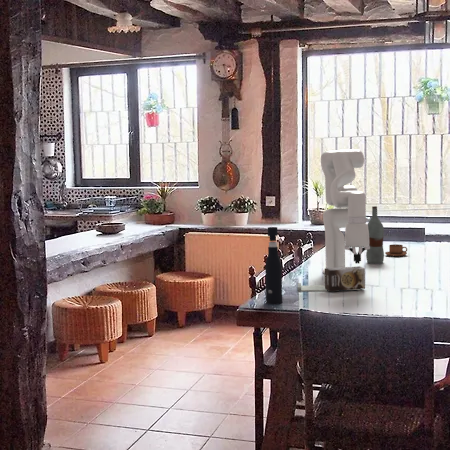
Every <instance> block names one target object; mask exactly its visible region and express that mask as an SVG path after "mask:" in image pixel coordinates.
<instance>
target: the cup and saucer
mask: <svg viewBox="0 0 450 450" xmlns="http://www.w3.org/2000/svg"><path fill="white" fill-rule="evenodd" d="M388 247H389V248H388V249H389V251H385V252H384V255H385V256H389V257H394V256H395V257H398V258H399V257H403V256H406V255H407V254H408V253H407V252H408V248H407V246H403V244H397V243H395V244H394V243H393V244H389V245H388ZM403 249H405V250H403ZM395 257H394V258H395Z"/></svg>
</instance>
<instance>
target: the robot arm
mask: <svg viewBox="0 0 450 450" xmlns="http://www.w3.org/2000/svg"><path fill="white" fill-rule="evenodd" d="M364 164H365V156H364V153H363V151H361V150H360V149H338V150H328V151H325V152H323V153H322V154H321V156H320V165H321V170H322V172H323V175H324V181H325V182H324V184H325V185H324V186H325V190H324V191H325V193H324V194H325V202H326V204H327V205H328V206H334V207H335V208H328V209H326V210H325V211H324V212H323V214H322V220H323V226H324V239H325V240H324V241H325V244H324V245H325V246H324V247H325V248H324V249H325V250H324V251H325V252H324V253H325V268H341V267H346V251H350V252H351V253H352V254H353V262H355V264H360V262H361V261H362V254H363V253H364V252H365V251H367V250H368V249H370V246H369V231H368V223H367V222H369V221H370V217H367V212H366V211H367V210H366V209H367V206H366V204H367V203H366V197H367V196H366V193H365V192H364V191H362V190H358V189H357V188H358V187H356V186H354V185H349V184H350V183H352V182H353V181H354V180H355V178H356V172H355V169H360V168H363V167H364ZM343 228H344V229H345V231H344V233H343V232H342V231H341V229H343ZM356 248H358V251H357V249H356ZM325 268H324V269H322V273H323V274H325Z"/></svg>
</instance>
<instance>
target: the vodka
mask: <svg viewBox="0 0 450 450" xmlns="http://www.w3.org/2000/svg"><path fill="white" fill-rule="evenodd" d="M371 215H372V216H371V218H369V221H368V223H367V224H368V231H369V246H370V249H368V250H366V252H365V253H366V255H365V257H366V258H365V259H366V262H367V264H370V265H371V264H372V265H376V264H377V265H378V264H379V265H380V263H381V264H383V263H384V258H385V252H384V235H385V230H384V229H385V228H384V225H383V223H382V221H381V220H380V218H379V217H378V206H371Z"/></svg>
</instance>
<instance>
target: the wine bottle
mask: <svg viewBox="0 0 450 450" xmlns="http://www.w3.org/2000/svg"><path fill="white" fill-rule="evenodd" d="M267 236H268V237H269V242H268V247H267V252H268V254H267V257H266V260H265V265H264V266H265V267H264V268H265V272H264V273H265V274H264V275H265V303H266V304H269V305H278V304H279V305H280V304H282V303H283V278H282V268H283V267H282V262H281V258H280V255H279V248H278V247H279V246H277V245H278V243H277V237H278V227H277V226H269V227H267Z"/></svg>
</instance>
